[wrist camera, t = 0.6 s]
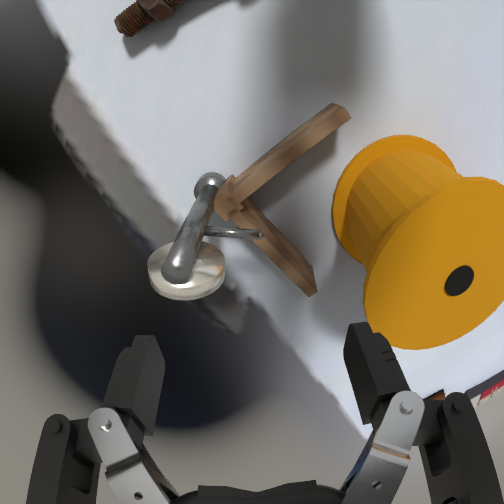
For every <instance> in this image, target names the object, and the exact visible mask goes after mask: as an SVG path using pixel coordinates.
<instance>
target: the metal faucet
mask: <svg viewBox="0 0 504 504" xmlns="http://www.w3.org/2000/svg"><path fill="white" fill-rule="evenodd" d="M225 181H226V179H225V178H224V177H223V176H222V175H220V174H218V173H213V172H211V173H206V174H204V175H203V176H202V177H201V178H200V179H199V180H198V182H197V184H196V185H195V188H194V195H195V198H196V201H195V202H194V204H193V206H192V208H191V210H190V212H189V214H188V216H187V217H186V219H185V221H184V223H183V225H182V227H181V229H180V231H179V233H178V235H177V237H176V239H175V241H174V242H172V243H169V244H166V245H164V246H162V247H160V248H158V249H157V250H156V251H154V252H153V253H152V254H151V256H150V258H149V260H148V271H149V276H150V282H151V285H152V287H153V288H154V289H155V290H156V291H157V292H158V293H159V294H161V295H163V296H165V297H167V298H171V299H176V300H194V299H199V298H202V297H205V296H207V295H210V294H211V293H213V292H214V291H216V290H217V289H218V288H219V287H220V286H221V285H222V283H223V281H224V276H225V259H224V255H223V253H222V252H221V251H220V250H219V249H218V248H217V247H215V246H213V245H211V244H209V243H206V242H202V240H203V237H204V236H218V237H232V238H245V239H259V240H260V239H262V238H263V237H264V232H263V231H262V230H256V229H243V228H228V227H214V226H208V223H209V221H210V218H211V215H212V213H213V210H214V199H215V197H216V194H217V192H218V189H219V188H221V187H222V186H223V185H224V183H225Z"/></svg>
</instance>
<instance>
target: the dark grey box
mask: <svg viewBox="0 0 504 504" xmlns="http://www.w3.org/2000/svg"><path fill="white" fill-rule="evenodd" d="M503 387H504V370H503V371H501V372H499V373H498V374H496V375H494V376H493V377H491V378H489V379H488V380H486V381H484V382H483V383H481V384H480V385H476V386H475V387H473V388H471V389H469V390H467V391H466V392H465V395H466V396H467V397H468V398H469V399H470V401H471V403H472V405H473V407H474V408H475V407H476V406H477V405H478V406H479V405H481V404H483V403H484V402H486V401H487V400H489V399H490V398H492V397H494V396H495V395H497V394H498V393H500V392H501V391H502V390H503Z"/></svg>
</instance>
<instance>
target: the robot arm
mask: <svg viewBox="0 0 504 504" xmlns="http://www.w3.org/2000/svg"><path fill="white" fill-rule="evenodd" d="M343 355H344V361H345V365H346V368H347V371H348V374H349V378H350V381H351V384H352V388H353V391H354V395H355V398H356V401H357V405H358V408H359V412H360V415H361V419H362V423H363V425H365V424H369V423H371V424H372V427H373V431H372V432H371V434H370V437H369V439H368V441H367V443H366V445H365V447H364V449H363V450H362V452H361V454H360V456H359V458H358V460H357V462H356V464H355V465H354V467H353V469H352V470H351V472H350V473H349V475H348V476H347V478H346V479H345V481H344V483H343V484H342V486H341V488H340V489H339V490H338V489H335V488H332V487H329V486H324V485H316V480H311V481H304V482H296V483H287V484H284V485H281V486H277V487H274V488H271V489H267V490H264V491H261V492H252V491H247V490H241V489H237V488H232V487H228V486H201V485H200V486H199V485H198V490H197V491H193V492H189V493H186V494H184V495H182V496H180V495H179V494H178V492H177V491H176V489H175V488H174V487H173V486H172V485H171V483H170V482H169V481H168V480H167V479H166V478H165V476H164V475H163V474H162V472H161V471H160V469H159V468H158V466H157V465H156V463H155V462H154V460H153V458H152V457H151V456H150V454H149V452H148V450H147V449H146V447H145V446H144V444H143V438H144V435H148V436H153V431H154V425H155V419H156V414H157V407H158V403H159V397H160V392H161V387H162V381H163V376H164V371H165V363H164V358H163V356H162V353H161V351H160V349H159V346H158V344H157V341H156V339H155V337H154V336H138V335H137V336H136V337H135V338H134V341H133V344H132V347H126V348H125V349H124V350H123V351H122V352H121V354H120V355H119V356H118V359H117V362H116V364H115V368H114V370H113V373H112V377H111V379H110V383H109V386H108V389H107V392H106V395H105V399H104V402H103V405H102V407H101V408H100V409H97V410H96V411H94V412H93V413H92V414H91V415H90V417H89V418H85V419H78V420H71V421H70V420H69V419H67V417H65V416H64V415H62V414H54V415H52V416H50V417H49V418H48V419H47V420H46V422H45V423H44V426H43V430H42V433H41V437H40V441H39V444H38V449H37V452H36V457H35V460H34V465H33V469H32V474H31V479H30V484H29V489H28V495H27V501H26V504H96V496H97V487H98V478H99V471H100V464H101V463H102V462H103V463H104V465H105V467H106V470H107V472H105V476H106V479H107V481H108V483H109V485H110V487H111V489H112V491H113V493H114V494H115V496H116V498H117V500H118V501H119V503H120V504H391V503H392V501H393V499H394V496H395V494H396V492H397V490H398V488H399V486H400V484H401V482H402V480H403V477H404V475H405V473H406V470H407V468H408V465H409V462H410V457H409V453H410V450H411V447H412V446H419V450H420V454H421V458H422V462H423V466H424V470H425V474H426V479H427V484H428V488H429V493H430V498H431V503H432V504H504V501H503V497H502V493H501V489H500V485H499V481H498V477H497V474H496V470H495V467H494V464H493V460H492V457H491V454H490V451H489V448H488V445H487V442H486V439H485V436H484V433H483V431H482V428H481V425H480V423H479V420H478V418H477V415H476V412H475V410H474V407H473V405H472V403H471V401H470V399H469V398H468V397H467V396H466V395H465V394H463V393H460V392H453V393H450V394H449V395H448V396H447V397H446V398H445V399H444V400H427V399H422V398H421V397H420V396H419V395H418V394H416V393H415V392H412V391H411V390H410V388H409V386H408V384H407V381H406V379H405V377H404V374H403V372H402V370H401V367H400V365H399V363H398V361H397V360H396V356H395V354H394V352H393V350H392V348H391V345H390V343H389V341H388V340H387V339H386V338H385V337H384V336H383V335H382V334H381V333H380V332H378V333H373V331H372V329H371V327H370V325H369V323H368V322H361V323H353V324H350V325H349V327H348V331H347V335H346V340H345V344H344V349H343Z"/></svg>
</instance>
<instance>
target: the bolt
mask: <svg viewBox="0 0 504 504" xmlns="http://www.w3.org/2000/svg"><path fill="white" fill-rule="evenodd" d="M181 1H183V0H137V1H136V2H134V4H131V6H129V7H128V8H126V10H124V11H123V12H121V14H119V15H118V16H116V19H115V20H114V22H115V25H116V27H117V30H118V31H119V32H120V33H123V34H124V35H125V36H127V37H128V36H130V37H132V36H133V35H135V34H136V33H137V32H138V31H140V29H142V28H143V27H145V26H146V25H148V23H151V21H153V19H155V20H156V21H159V22H162V21H164V20H166V19H167V18H169V17H170V16H172V15H173V14H174V12H175V8H174V6H175V4H177V5H178V3H181Z"/></svg>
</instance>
